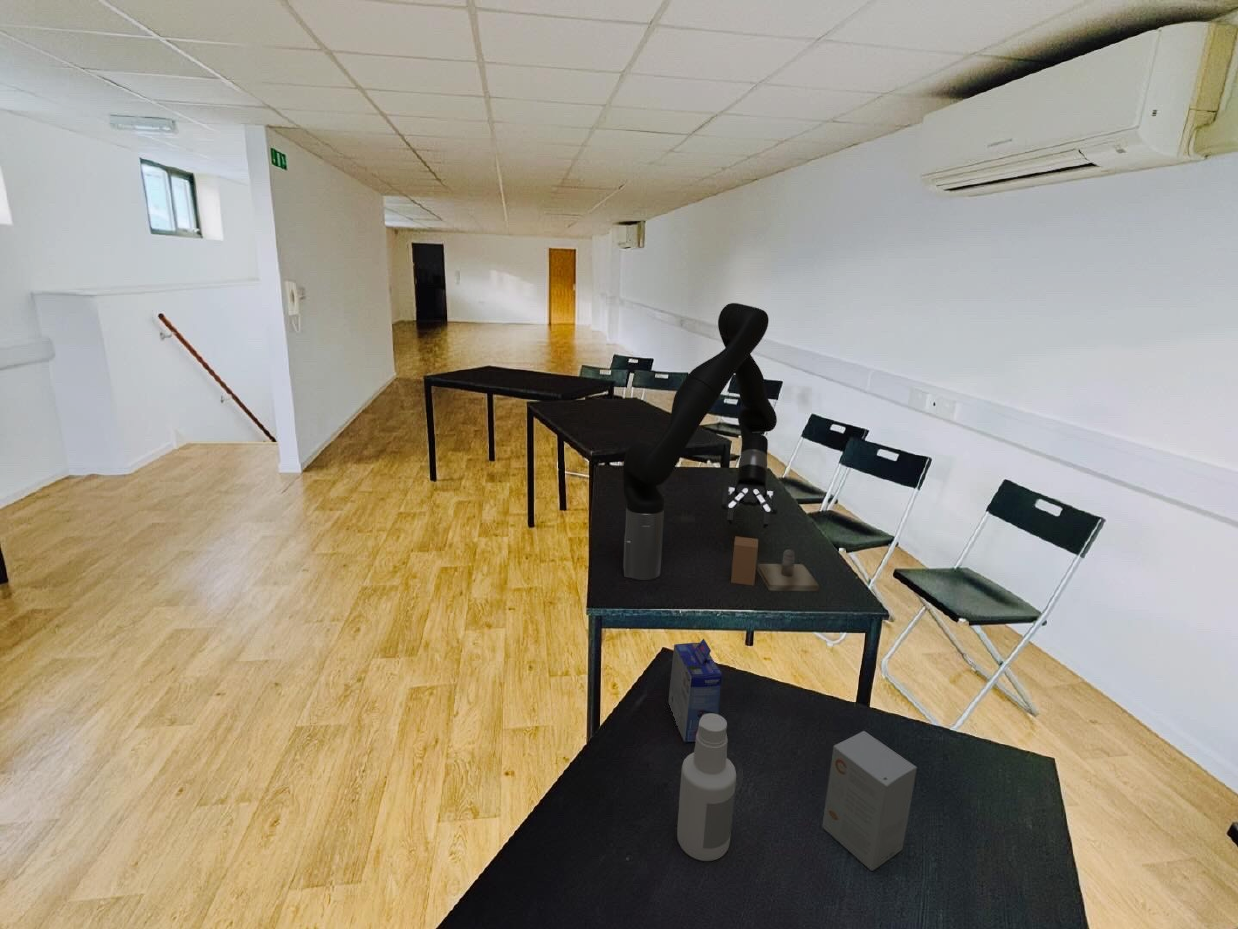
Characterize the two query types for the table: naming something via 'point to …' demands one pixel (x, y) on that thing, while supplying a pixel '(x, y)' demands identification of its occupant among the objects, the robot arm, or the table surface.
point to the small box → (868, 799)
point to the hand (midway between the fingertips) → (747, 525)
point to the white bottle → (707, 793)
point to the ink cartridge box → (693, 687)
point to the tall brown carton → (744, 560)
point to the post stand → (787, 575)
